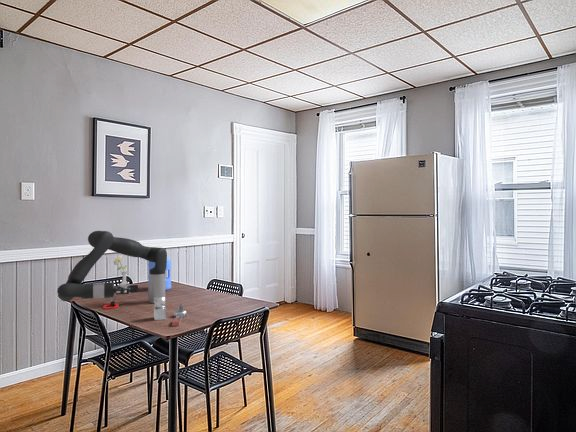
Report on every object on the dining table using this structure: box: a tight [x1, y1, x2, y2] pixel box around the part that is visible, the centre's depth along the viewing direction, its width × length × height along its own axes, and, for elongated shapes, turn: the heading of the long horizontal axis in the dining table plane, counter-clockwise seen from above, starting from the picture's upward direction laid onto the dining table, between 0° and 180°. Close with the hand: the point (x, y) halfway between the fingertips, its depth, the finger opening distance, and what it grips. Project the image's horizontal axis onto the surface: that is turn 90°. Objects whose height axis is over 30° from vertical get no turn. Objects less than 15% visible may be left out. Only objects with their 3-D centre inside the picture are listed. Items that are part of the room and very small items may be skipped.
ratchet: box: [171, 303, 188, 327], centre depth 214 cm, size 22×6×7 cm, turn 7°
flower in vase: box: [113, 254, 131, 285], centre depth 288 cm, size 13×11×25 cm
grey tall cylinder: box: [153, 295, 167, 321], centre depth 217 cm, size 6×6×11 cm
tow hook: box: [102, 296, 120, 310], centre depth 240 cm, size 8×13×9 cm
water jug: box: [147, 257, 172, 291], centre depth 294 cm, size 16×16×28 cm
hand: (138, 288), depth 213 cm, fingers open, 8 cm apart
